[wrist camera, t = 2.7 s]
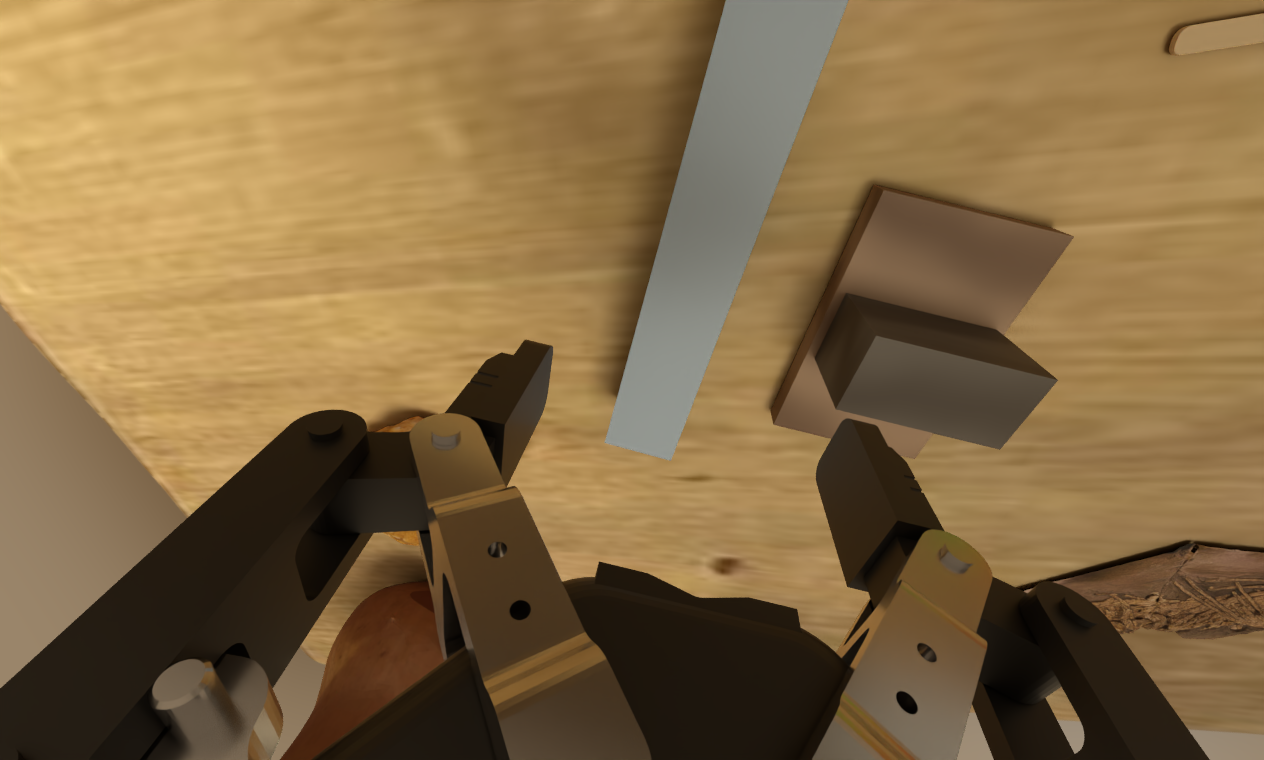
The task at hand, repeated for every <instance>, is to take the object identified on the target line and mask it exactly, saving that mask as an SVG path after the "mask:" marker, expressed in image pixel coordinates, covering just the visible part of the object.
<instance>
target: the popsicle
mask: <svg viewBox="0 0 1264 760" xmlns="http://www.w3.org/2000/svg"><path fill="white" fill-rule="evenodd" d="M1263 42H1264V13H1262V14H1256V15H1250V16H1244V17H1238V18H1232V19H1226V20H1220V21H1214V22H1208V23H1201V24H1195V25H1189V26H1185V27H1183V28H1181V29H1179V30H1178V31H1177V32H1176V33H1175V35H1174V36H1173V38H1172V41H1171V43H1170V47H1169V53H1170V54H1171V55H1186V54H1192V53H1199V52H1205V51H1212V50H1218V49H1225V48H1231V47H1237V46H1244V45H1250V44H1257V43H1263Z"/></svg>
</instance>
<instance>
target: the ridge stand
mask: <svg viewBox="0 0 1264 760" xmlns="http://www.w3.org/2000/svg"><path fill="white" fill-rule="evenodd" d="M1073 238H1074V237H1073V236H1071V235H1068V234H1066V233H1063V232H1061V231H1058V230H1056V229H1053V228H1049V227H1045V226H1041V225H1037V224H1033V223H1029V222H1025V221H1021V220H1017V219H1013V218H1008V217H1004V216H1000V215H996V214H992V213H988V212H984V211H980V210H976V209H972V208H968V207H964V206H959V205H955V204H951V203H947V202H943V201H939V200H935V199H931V198H927V197H923V196H919V195H915V194H911V193H906V192H902V191H898V190H894V189H890V188H886V187H882V186H878V185H874V186H873V188H872V190H871V192H870V194H869V196H868V199H867V201H866V203H865V205H864V207H863V210H862V212H861V214H860V216H859V218H858V221H857V223H856V225H855V227H854V229H853V231H852V234H851V236H850V238H849V240H848V242H847V245H846V247H845V249H844V251H843V253H842V256H841V258H840V260H839V262H838V264H837V266H836V269H835V271H834V273H833V275H832V277H831V280H830V282H829V284H828V286H827V288H826V291H825V293H824V295H823V297H822V299H821V301H820V304H819V306H818V308H817V310H816V312H815V315H814V317H813V319H812V321H811V323H810V326H809V328H808V330H807V332H806V334H805V336H804V339H803V341H802V343H801V345H800V347H799V350H798V352H797V354H796V356H795V358H794V361H793V363H792V365H791V367H790V369H789V372H788V374H787V376H786V378H785V380H784V382H783V385H782V387H781V389H780V391H779V393H778V396H777V398H776V400H775V402H774V404H773V407H772V409H771V415H772V419H773V424H774V425H777V426H781V427H785V428H790V429H794V430H798V431H802V432H806V433H810V434H814V435H818V436H822V437H826V438H831V439H832V437H833V435H834V434H835V432H836V430H837V428H838V427H839V425H840V423H841V422H842V421H843V420H844V419H846V418H849V419H853V420H858V421H862V422H866V423H870V424H874V425H876V426H878V428H879V430H880V431H881V433H882V435H883V437H884V439H885V441H886V443H887V445H888V447H891V448H893V449H894V450H895V451H896V452H897V453H898V454H899V455H900V456H904V457H908V458H913V459H915V458H916V457H917V455H918V454H919V453H920V451H921V450H922V448H923V447H924V446H925V444H926V443H927V441H928V440H929V439H930V437H931V436H932V434H933V433H934V434H938V435H943V436H947V437H951V438H955V439H959V440H963V441H967V442H971V443H975V444H979V445H984V446H988V447H992V448H996V449H1001V448H1002V447H1003V445H1004V444H1005V443H1006V442H1007V441H1008V439H1009V438H1010V437H1011V436H1012V435H1013V433H1014V432H1015V431H1016V430H1017V429H1018V427H1019V426H1020V425H1021V424H1022V423H1023V422H1024V420H1025V419H1026V418H1027V417H1028V416H1029V414H1030V413H1031V412H1032V411H1033V410H1034V408H1035V407H1036V406H1037V405H1038V404H1039V402H1040V401H1041V400H1042V399H1043V398H1044V396H1045V395H1046V394H1047V393H1048V392H1049V390H1050V389H1051V388H1052V387H1053V386H1054V384H1055V383H1056V382H1057V381H1058V380H1057V379H1056V378H1055V377H1054V376H1052V375H1051V374H1050V373H1049V372H1048V371H1046V370H1045V369H1044V368H1043V367H1041V366H1040V365H1039V364H1038V363H1037V362H1035V361H1034V360H1033V359H1032V358H1030V357H1029V356H1028V355H1027V354H1026V353H1024V352H1023V351H1022V350H1021V349H1020V348H1018V347H1017V346H1016V345H1015V344H1013V343H1012V342H1011V341H1010V340H1009V339H1007V338H1006V337H1005V336H1004V334H1005V333H1006V331H1007V330H1008V328H1009V327H1010V326H1011V324H1012V323H1013V321H1014V320H1015V319H1016V317H1017V316H1018V314H1019V313H1020V312H1021V310H1022V309H1023V307H1024V306H1025V305H1026V303H1027V302H1028V300H1029V299H1030V298H1031V296H1032V295H1033V293H1034V292H1035V291H1036V289H1037V288H1038V286H1039V285H1040V284H1041V282H1042V281H1043V279H1044V278H1045V277H1046V275H1047V274H1048V272H1049V271H1050V270H1051V268H1052V267H1053V266H1054V264H1055V263H1056V261H1057V260H1058V259H1059V257H1060V256H1061V254H1062V253H1063V252H1064V250H1065V249H1066V247H1067V246H1068V245H1069V243H1070V242H1071V240H1072V239H1073Z"/></svg>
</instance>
